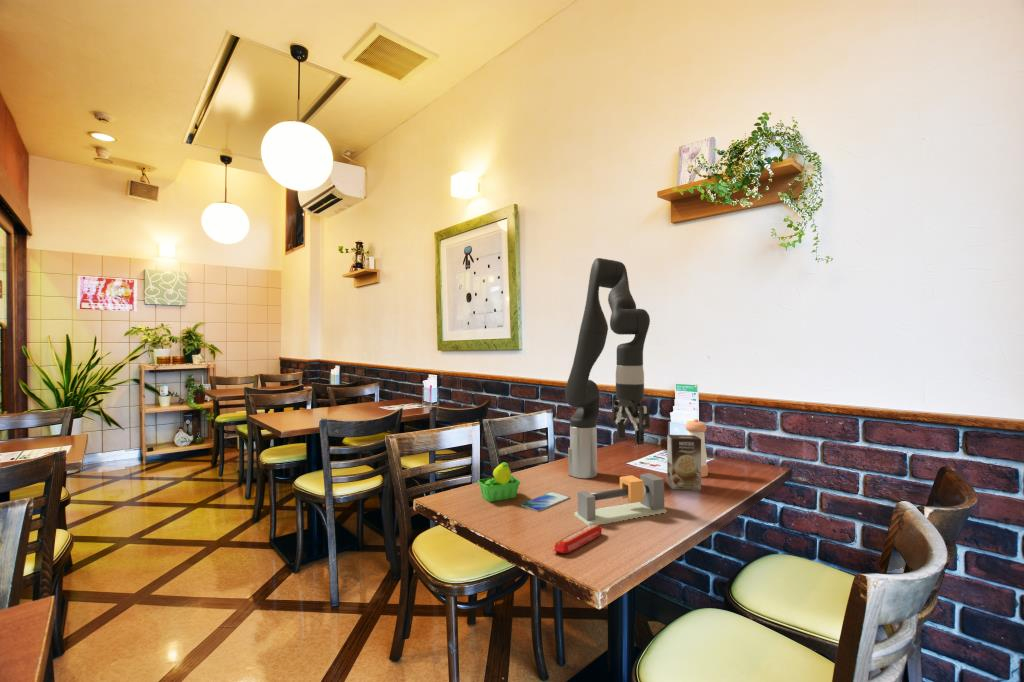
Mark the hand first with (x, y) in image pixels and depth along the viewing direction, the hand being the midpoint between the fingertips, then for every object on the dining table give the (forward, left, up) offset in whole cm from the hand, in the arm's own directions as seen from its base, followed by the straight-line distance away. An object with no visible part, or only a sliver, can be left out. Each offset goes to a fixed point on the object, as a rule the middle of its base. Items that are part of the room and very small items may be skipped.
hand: (629, 440), depth 125 cm
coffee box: (+12, +29, -20) cm, 37 cm away
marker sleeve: (0, 0, -16) cm, 16 cm away
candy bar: (-8, -24, -20) cm, 32 cm away
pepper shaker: (+15, +45, -20) cm, 51 cm away
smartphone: (-24, -1, -20) cm, 32 cm away
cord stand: (-2, -2, -20) cm, 20 cm away
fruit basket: (-38, -3, -20) cm, 43 cm away
